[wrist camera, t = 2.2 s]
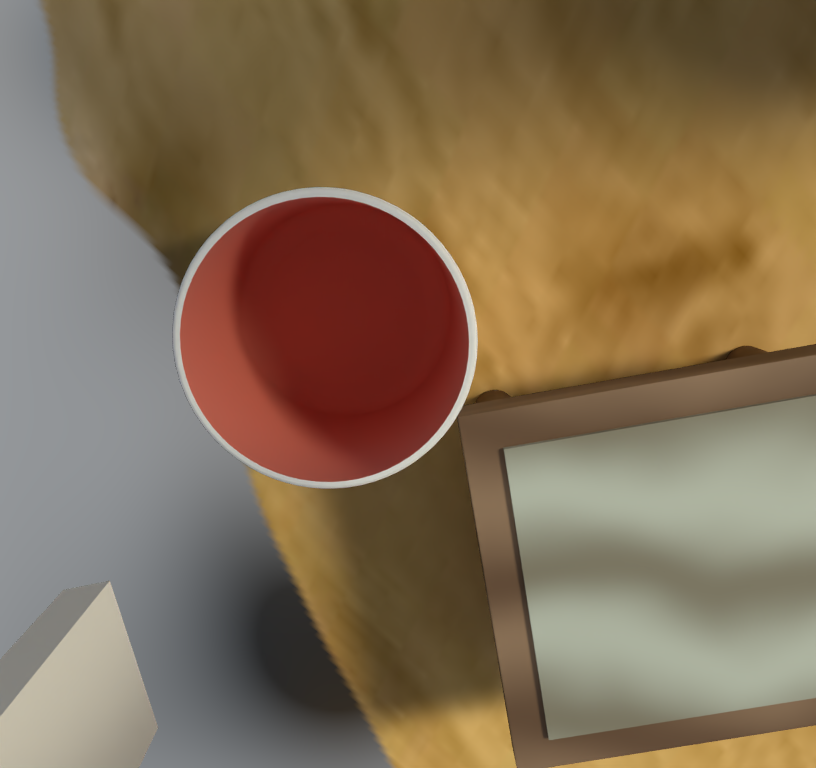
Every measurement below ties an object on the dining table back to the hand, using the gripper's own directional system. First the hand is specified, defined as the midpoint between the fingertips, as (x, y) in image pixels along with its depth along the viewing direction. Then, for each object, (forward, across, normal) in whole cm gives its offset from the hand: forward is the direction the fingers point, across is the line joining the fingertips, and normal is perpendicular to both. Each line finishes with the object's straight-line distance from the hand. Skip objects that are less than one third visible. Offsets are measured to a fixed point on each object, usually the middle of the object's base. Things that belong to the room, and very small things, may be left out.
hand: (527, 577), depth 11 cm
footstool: (+22, +8, -10) cm, 26 cm away
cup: (+23, -4, +2) cm, 23 cm away
